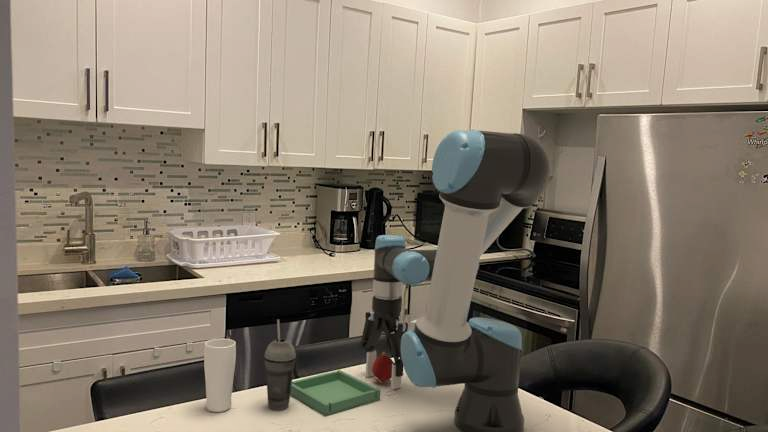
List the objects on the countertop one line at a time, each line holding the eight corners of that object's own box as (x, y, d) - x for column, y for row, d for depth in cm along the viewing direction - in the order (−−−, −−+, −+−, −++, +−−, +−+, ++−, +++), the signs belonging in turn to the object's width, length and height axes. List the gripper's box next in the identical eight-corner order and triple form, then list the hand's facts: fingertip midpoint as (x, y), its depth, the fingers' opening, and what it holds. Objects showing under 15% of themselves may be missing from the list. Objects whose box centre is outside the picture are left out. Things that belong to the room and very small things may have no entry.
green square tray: (379, 399, 144) (380, 389, 144) (325, 416, 133) (325, 405, 133) (339, 379, 156) (339, 370, 156) (286, 392, 145) (286, 382, 145)
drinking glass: (217, 417, 130) (219, 349, 129) (196, 408, 134) (197, 343, 132) (240, 407, 136) (242, 342, 134) (219, 399, 139) (221, 336, 138)
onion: (395, 379, 158) (396, 349, 157) (393, 387, 152) (394, 356, 151) (373, 377, 158) (374, 348, 157) (370, 385, 152) (371, 355, 152)
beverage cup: (275, 416, 132) (278, 327, 130) (255, 405, 137) (258, 319, 135) (301, 407, 137) (304, 321, 135) (281, 397, 142) (284, 314, 140)
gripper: (428, 303, 147) (423, 392, 149) (370, 286, 164) (366, 366, 166) (406, 307, 142) (401, 399, 145) (349, 289, 159) (345, 371, 161)
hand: (382, 381), depth 155 cm, fingers open, 9 cm apart
